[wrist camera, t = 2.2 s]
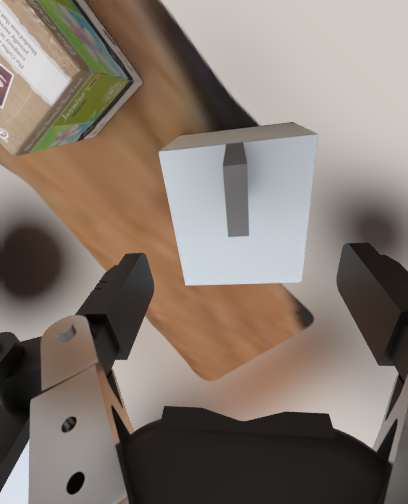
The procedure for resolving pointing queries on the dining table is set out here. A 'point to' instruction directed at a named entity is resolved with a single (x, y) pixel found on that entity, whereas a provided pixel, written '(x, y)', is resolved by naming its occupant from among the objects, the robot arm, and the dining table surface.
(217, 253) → the square plate with stem
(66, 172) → the dining table surface
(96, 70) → the tea box
